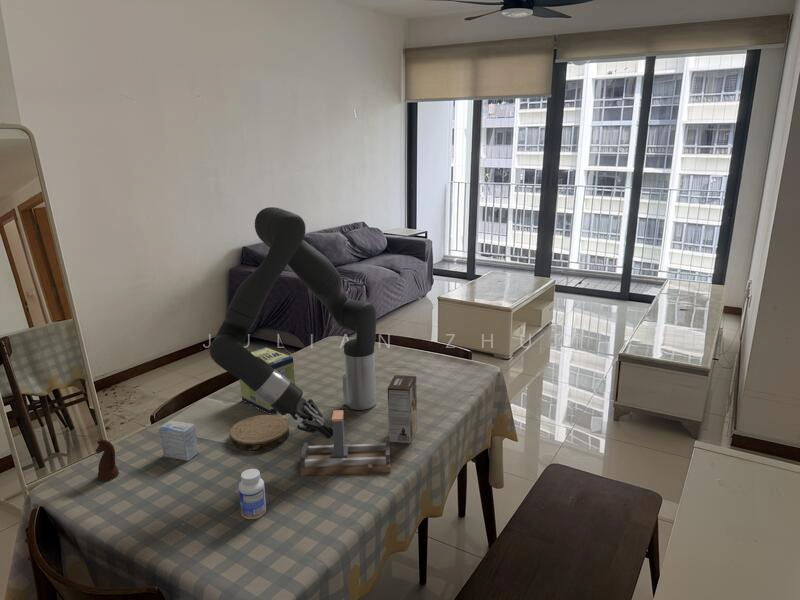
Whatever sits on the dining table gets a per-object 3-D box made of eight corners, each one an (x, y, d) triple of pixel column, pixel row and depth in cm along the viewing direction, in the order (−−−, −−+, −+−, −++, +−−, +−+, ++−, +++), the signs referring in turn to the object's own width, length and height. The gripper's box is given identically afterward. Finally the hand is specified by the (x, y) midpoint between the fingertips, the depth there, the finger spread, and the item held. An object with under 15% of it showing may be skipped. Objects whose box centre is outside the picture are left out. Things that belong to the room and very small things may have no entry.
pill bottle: (243, 505, 125) (239, 467, 123) (268, 503, 125) (264, 465, 123) (239, 521, 120) (234, 481, 117) (264, 519, 120) (260, 479, 118)
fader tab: (331, 462, 138) (328, 419, 135) (332, 452, 143) (330, 410, 140) (347, 461, 139) (345, 418, 135) (348, 451, 143) (346, 410, 140)
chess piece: (106, 470, 140) (100, 434, 137) (124, 471, 139) (118, 435, 137) (93, 480, 136) (87, 444, 133) (112, 482, 135) (106, 445, 132)
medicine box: (199, 453, 147) (195, 423, 145) (187, 462, 143) (183, 431, 141) (174, 448, 150) (170, 419, 147) (163, 457, 146) (158, 427, 143)
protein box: (268, 390, 185) (264, 346, 181) (297, 403, 175) (294, 357, 171) (240, 400, 177) (236, 355, 173) (270, 415, 167) (265, 367, 163)
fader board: (300, 475, 136) (299, 461, 135) (305, 453, 146) (304, 440, 145) (390, 472, 137) (390, 457, 136) (389, 450, 146) (389, 437, 145)
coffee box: (395, 426, 159) (394, 374, 155) (417, 427, 158) (416, 375, 154) (388, 442, 151) (386, 387, 146) (411, 444, 149) (410, 389, 145)
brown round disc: (234, 457, 145) (233, 447, 144) (228, 430, 159) (227, 421, 159) (294, 445, 151) (294, 435, 150) (284, 419, 165) (283, 410, 164)
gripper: (284, 393, 129) (340, 439, 132) (293, 371, 141) (343, 413, 145) (263, 414, 130) (319, 459, 133) (274, 390, 143) (324, 432, 146)
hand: (331, 435), depth 139 cm, fingers closed
